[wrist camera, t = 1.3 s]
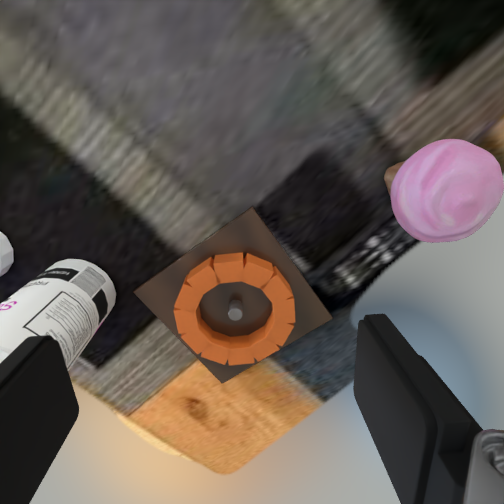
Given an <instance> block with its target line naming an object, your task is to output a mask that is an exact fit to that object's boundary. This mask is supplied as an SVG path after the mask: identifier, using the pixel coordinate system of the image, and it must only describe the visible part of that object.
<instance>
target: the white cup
mask: <svg viewBox="0 0 504 504" xmlns="http://www.w3.org/2000/svg"><path fill="white" fill-rule="evenodd" d="M13 262H14V258H13V248H12V246H11V244H10V242H9V240H8V238H7V237H6V236H5V235H4V234H3V233H2V232H1V231H0V276H2V275H3V274H5V273H6V272H8V270H9V268H10V267H11V265H12V263H13Z"/></svg>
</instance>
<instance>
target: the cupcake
mask: <svg viewBox="0 0 504 504" xmlns="http://www.w3.org/2000/svg"><path fill="white" fill-rule="evenodd" d="M384 180H385V182H386V186H387V188H388V193H389V194H390V196H391V204H392V209H393V212H394V214H395V217H396V219H397V221H398V223H399V224H400V225H401V227H402V228H403V229H404V230H405V231H406V232H407V233H409V234H410V235H411V236H412V237H414V238H416V239H418V240H420V241H424V242H432V243H433V242H450V241H457V240H460V239H463V238H466V237H468V236H470V235H472V234H473V233H474V232H476V231H477V230H478V229H480V228H481V227H482V226H483V225H484V224H485V223H486V222H487V220H488V219H489V218H490V216H491V215H492V214H493V212H494V211H495V209H496V208H497V206H498V204H499V203H500V200H501V197H502V195H503V189H504V185H503V177H502V173H501V168H500V165H499V163H498V162H497V160H496V159H495V157H494V156H493V155H492V154H490V153H489V152H488V151H486V150H484V149H482V148H480V147H478V146H475V145H473V144H471V143H469V142H467V141H464V140H459V139H444V140H439V141H436V142H433V143H431V144H429V145H426V146H425V147H423V148H422V149H420V150H419V151H417V152H416V153H415V154H413V155H412V156H411V157H410V158H409V159H408V160H406V161H404V162H400V163H397V164H396V165H394V166H392V167H389V168H388V169H387V170H386V173H385V175H384Z"/></svg>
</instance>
